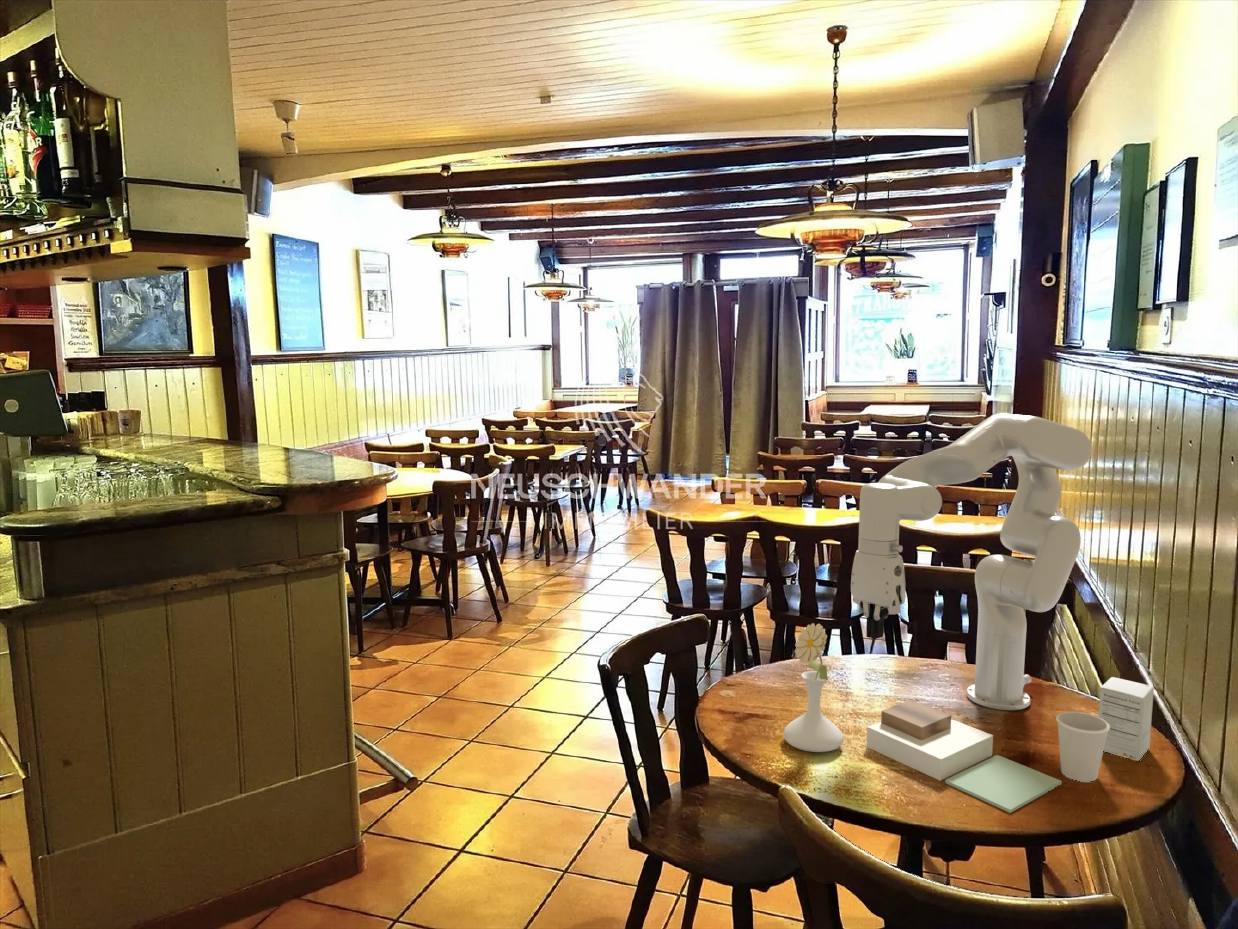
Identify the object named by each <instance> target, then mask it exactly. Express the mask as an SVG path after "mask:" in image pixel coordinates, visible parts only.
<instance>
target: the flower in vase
mask: <svg viewBox="0 0 1238 929" xmlns="http://www.w3.org/2000/svg"><path fill="white" fill-rule="evenodd" d="M827 638H828V635H827V634H826V630H825V629H824V627H823V625H821V624H820V623H818V624H816V625H815V623H811V624H808V625H806V628H802V629H801V631H800V634H799V635H798V637H797V641H796V642H795V644H794V645H795V647H797V648H796V649H795V652H794V654H795V658H796V659H799V663H800V664H802V663H803V664H807V665H808V666H810V667H811V668H812V669H814V670H809V671H807V670H806V671H804V672H802V673H801V675H800V676H801V678H802V679H803V681H804V684H805V686H806V689H807V699H808V700H807V703H808V704H807V709H806V711H805V712H804V713H803V714H802V715H800V716H798V717H797V718H795V719H793V720H792V721H791V722H789V723H788V724H787V725H786V726H785V728H784V730H783V732H782V736H783V738H784V740H785V741H786V743H787V744H788V745H790V746H792V747H794V748H796V749H798V750H802V751H805V752H811V753H825V752H826V753H827V752H832V751H835V750H837V749H839V748H840V747H841V746H842V744H843V743H844V740H845V738H844V734H843V732H842V730H840V728H839V727H838V726H837V725H836V724H834V723H833V722H832V721H831V720H830V719H828V718H827V717H826V716H824V714H823V712H822V711H821V696H822V691H823V690H822V689H823V687H824V685H825V683H826V682H827V681H828V680H829V676H828V666H827V665H826V664H825V665H824V664H823V659H822V655H821V654H822V652H823V651H825V648H826V643H827ZM817 658H819V661H820V664H819V663H818V662H817V661H816V660H817Z"/></svg>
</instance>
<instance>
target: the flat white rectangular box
mask: <svg viewBox="0 0 1238 929" xmlns="http://www.w3.org/2000/svg"><path fill="white" fill-rule="evenodd" d="M993 743H994V735H993V734H991V733H987V732H986V731H983V730H981V729H977V728H975V727H972V726H969V725H968V724H966V723H963V722H960V721H957V720H954V719H953V718H951V728H949V729H947V730H944V731H942V732H940V733H937V734H935V735H933V736H930V737H928V738H926V739H923V740H919V739H917V738H915V737H912V736H910V735H908V734H905V733H903V732H901V731H898V730H896V729H894V728H891V727H889V726H887V725H884V724H882V723H881V721H878V722H876V723H873V724H871V725H869V726H867V727H866V747H867V748H868V749H871V750H873V751H875V752H877V753H879V754H882V755H884V756H885V757H888V758H890V759H892V760H894V761H896V762H898V763H901V764H903V765H905V766H908V767H910V768H911V769H914V770H917V771H918V772H920V773H923V774H925V775H927V776H929V777H931V778H933V779H935V780H938V781H940V782H941V781H942V780H946V779H948V778H950V777H952V776H954V775H956V774H958V773H960V772H962V771H965V770H967V769H969V768H971V767H973V766H975V765H977V764H979V763H981V762H983V761H985V760H987V759H989V758H991V757H993Z"/></svg>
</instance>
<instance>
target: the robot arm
mask: <svg viewBox="0 0 1238 929" xmlns="http://www.w3.org/2000/svg"><path fill="white" fill-rule="evenodd" d="M1092 448H1093V447H1092V442H1091V440H1090V438H1089V437H1088V435H1087V434H1086V433H1085V432H1084V431H1083V430H1080V429H1078V428H1075V427H1073V426H1068V425H1065V424H1062V423H1059V422H1056V421H1053V420H1049V419H1046V418H1043V417H1040V416H1034V415H1025V414H1024V415H1023V414H1016V413H1015V414H1013V413H996V414H992V415H991V416H989V417H987V418H986V419H984V420H983V421H981V422H980V423H978V424H977V425H976V426H974V427H973V428H971V429H970V430H968V431H967V432H966V433H965V434H963V435H962V436H960V437H959V438H957V439H956V440H955V441H953V442H952V443H950V444H949V445H947V446H944V447H941V448H937V449H935V450H932V451H929V452H926V453H925V454H922V455H918V456H916V457H912V458H910V459H907V460H906V461H904V462H902V463H900V464H899V465H897V466H896V467H895V468H892V469H891V470H890V471H889V472H887V473H886V474H885V475H883V476H882V477H881V478H880V479H879V481H878V482H870V483H866V484H864V485H862V487H861V488H860V491H859V492H860V493H859V514H858V515H859V517H858V518H859V520H858V547H857V550H856V551H855V555H854V558H853V563H852V568H851V578H850V592H851V596H852V602H853V603H854V604H856V605H857V606H860V608H861V609H862V612H863V616H864V617H865V618H866V628H865V630H866V635H865V636H866V638H868V639H870V640H877V639H879V638H880V639H881V638H883V637H884V632H885V619H887V618H888V616H889V615H898V614H901V605H903V604H905V602H906V574H905V573H906V572H905V566H904V560H903V557H902V555H900V554H899V553H902V552H903V549H904V548H903V545H900V544H899V543H900V542H899V541H900V522H901V521H915V522H922V521H923V522H924V521H928V520H930V519H933V518H935V517H936V516H937V515H938V514H939V512H940V511H941V510H942V509H941V508H942V506H943V498H942V495H941V493H940V491H939V490H938V489H937V488H936V487H938V486H946V485H958V484H962V483H967V482H972V481H975V480H977V479H978V478H980V476H982V475H983V474H985V473H986V472H987V471H989V470H990V469H991V468H993V467H994V466H995V465H997V464H998V463H999V462H1002V461H1003V459H1005V458H1007V457H1012V458H1013V461H1014V463H1015V466H1016V469H1017V473H1018V474H1017V475H1018V485H1017V488H1016V491H1015V495H1014V497H1013V499H1012V501H1011V504H1010V507H1009V509H1008V512H1007V514H1006V516H1005V519H1004V521H1003V524H1002V526H1001V530H1000V534H999V538H1000V539H999V540H1000V542H1001V544H1002V545H1003V546H1004V547H1005V548H1006V549H1008V550H1010V551H1013V552H1015V553H1019V554H1020V555H1021V554H1022V555H1025V556H1029V557H1033V558H1034V560H1033V562H1031V561H1027V560H1024V559H1021V558H1018V557H1014V556H1013V557H1012V556H1010V555H1006V554H1005V555H1004V554H991V555H987V556H985V557H984V558H982V559H981V560H980V561H979V562H978V564H977V566H976V568H975V572H974V584H975V590H976V595H977V596H976V597H977V609H978V611H977V612H978V613H977V632H976V633H977V634H976V650H975V651H976V653H975V671H974V672H975V673H974V684H972V685H970V686H968V687H967V688H966V696H967V698H968V699H969V700H970V701H972V702H973V703H975V704H977V705H980V706H982V707H986V708H989V709H992V710H993V709H994V710H1000V711H1019V710H1023V709H1027V707H1029V706H1030V705H1031V697H1030V695H1029V694H1028V693H1027V692H1025V691H1024V687H1025V685H1028V684H1030V683H1031V682H1032V676H1030V675H1029V674H1027V673H1026V674H1025V658H1026V644H1027V643H1026V641H1027V626H1028V625H1027V624H1028V623H1027V617H1026V614H1025V610H1028V611H1031V612H1036V613H1044V612H1047V611H1050V610H1052V608H1054V607H1055V605H1056V604H1057V603H1058V601H1059V600H1060V598H1061V596H1062V594H1063V591H1064V589H1065V587H1066V584H1067V582H1068V580H1069V577H1070V575H1071V572H1072V569H1073V568H1074V565H1075V562H1076V560H1077V558H1078V556H1079V552H1080V548H1081V542H1082V541H1081V540H1082V539H1081V531H1080V528H1079V527H1078V526H1077V524H1076V523H1075V521H1073V520H1072V519H1070V518H1068V517H1065V516H1063V515H1058V514H1056V512H1057V509H1058V506H1059V503H1060V500H1061V496H1062V485H1061V482H1060V480H1059V477H1058V473H1057V471H1056V470H1062V471H1077V470H1079V469H1081V468H1083V467H1084V466H1085V465H1086V464H1087V463H1088V462H1089V461H1090V459H1091V456H1092V452H1093V451H1092V450H1093V449H1092ZM1024 609H1025V610H1024Z"/></svg>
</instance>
